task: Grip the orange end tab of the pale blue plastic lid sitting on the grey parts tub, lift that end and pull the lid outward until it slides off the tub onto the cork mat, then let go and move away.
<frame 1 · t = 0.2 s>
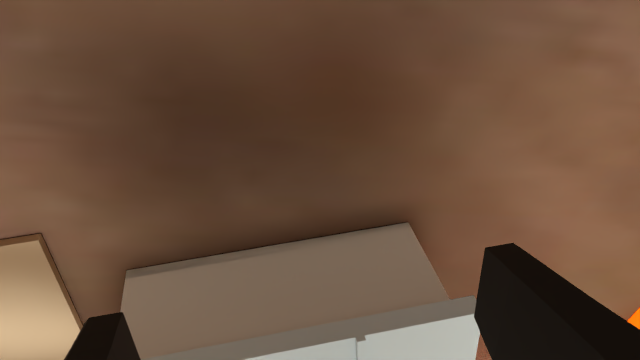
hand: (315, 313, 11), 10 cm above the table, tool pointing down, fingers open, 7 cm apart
tub: (282, 317, 25), on the table
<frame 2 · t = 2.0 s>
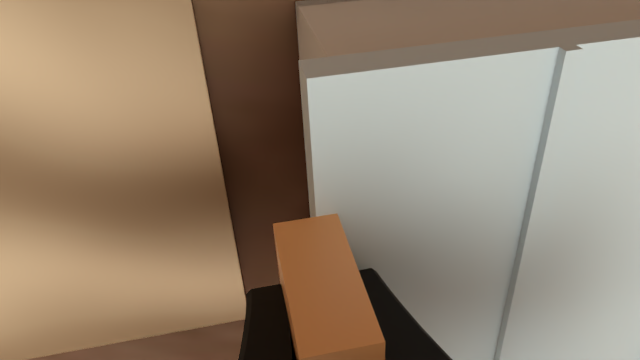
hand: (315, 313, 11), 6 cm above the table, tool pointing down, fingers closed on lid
lid: (593, 225, 12), point 5 cm above the table, touching gripper, tub
tub: (495, 127, 17), on the table
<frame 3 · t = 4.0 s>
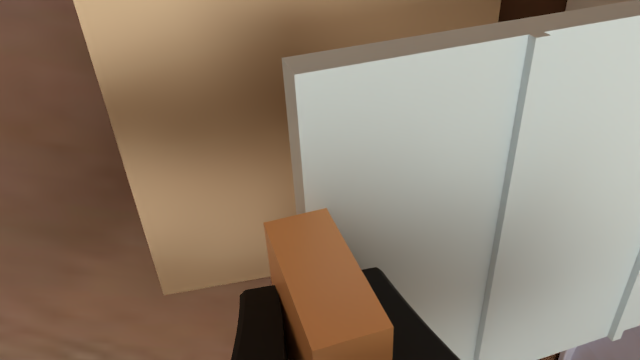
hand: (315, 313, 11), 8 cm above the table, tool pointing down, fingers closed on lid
lid: (560, 204, 13), point 6 cm above the table, tilted 7°, touching gripper
cork mat: (309, 111, 17), on the table
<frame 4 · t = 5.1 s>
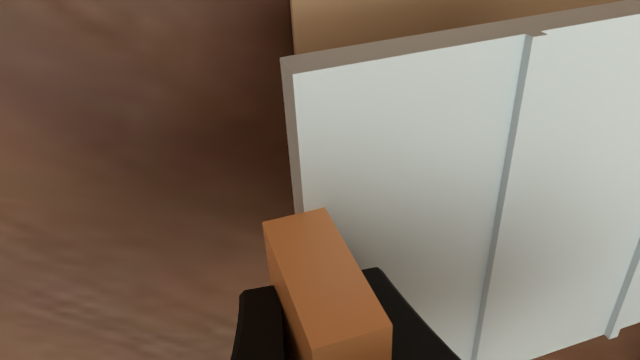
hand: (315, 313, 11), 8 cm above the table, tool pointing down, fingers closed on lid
lid: (557, 203, 13), point 6 cm above the table, tilted 7°, touching gripper
cork mat: (474, 89, 18), on the table
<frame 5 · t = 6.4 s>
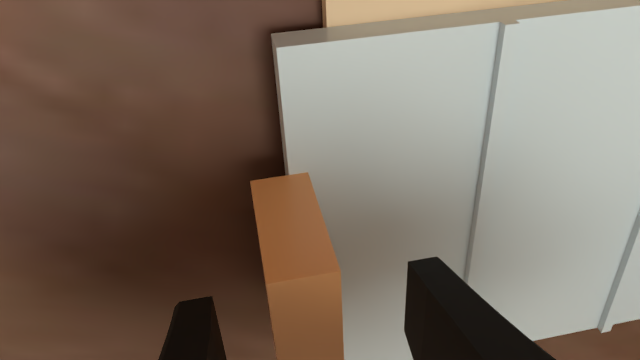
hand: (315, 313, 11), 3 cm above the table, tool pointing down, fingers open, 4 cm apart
lid: (547, 191, 14), resting on cork mat
cork mat: (556, 165, 14), on the table
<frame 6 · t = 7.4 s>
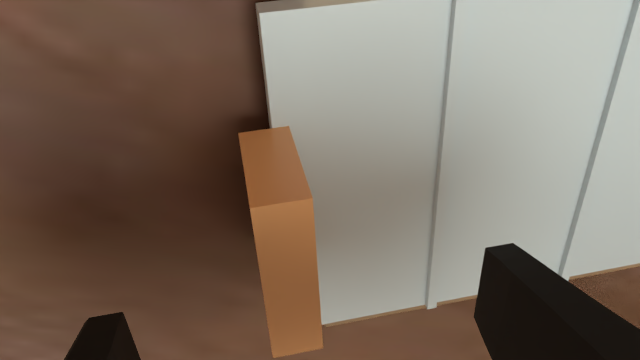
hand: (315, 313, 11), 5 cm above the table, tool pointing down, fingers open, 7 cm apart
lid: (506, 150, 15), resting on cork mat
cork mat: (514, 127, 15), on the table
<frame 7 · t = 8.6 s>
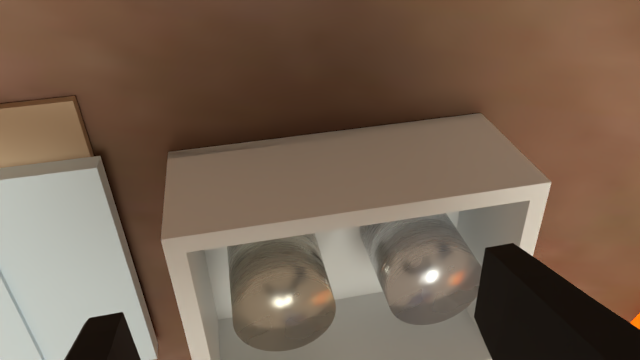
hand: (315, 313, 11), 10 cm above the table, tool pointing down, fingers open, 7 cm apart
bushing a: (400, 223, 22), resting on tub
tub: (333, 225, 22), on the table
bushing b: (271, 242, 22), resting on tub
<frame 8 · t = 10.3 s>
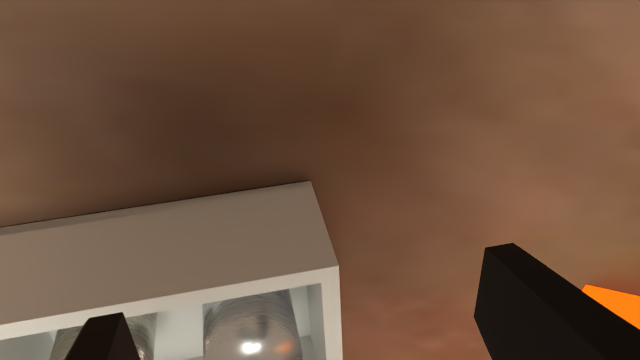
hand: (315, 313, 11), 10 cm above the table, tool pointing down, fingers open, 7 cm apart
orange juice: (598, 339, 31), on the table
bushing a: (245, 285, 23), resting on tub
tub: (178, 288, 23), on the table
bushing b: (111, 309, 22), resting on tub
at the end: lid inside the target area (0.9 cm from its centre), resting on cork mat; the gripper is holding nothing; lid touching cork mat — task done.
